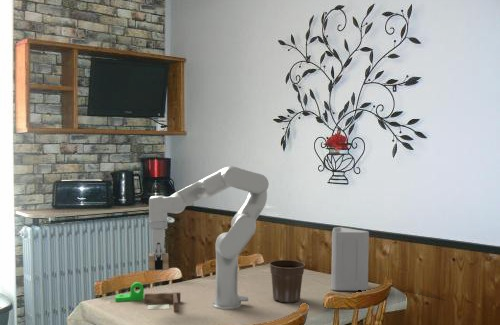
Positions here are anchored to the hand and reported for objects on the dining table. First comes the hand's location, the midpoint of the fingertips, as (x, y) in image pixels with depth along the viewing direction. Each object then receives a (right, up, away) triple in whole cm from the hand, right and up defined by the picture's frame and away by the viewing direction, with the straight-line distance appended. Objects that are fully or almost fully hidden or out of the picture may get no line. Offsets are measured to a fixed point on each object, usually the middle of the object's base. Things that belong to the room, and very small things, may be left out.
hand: (158, 267), depth 230 cm
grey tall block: (+84, -17, +37) cm, 94 cm away
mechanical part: (-15, -17, +12) cm, 26 cm away
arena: (+2, -17, +1) cm, 17 cm away
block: (0, -1, 0) cm, 1 cm away
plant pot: (+55, -17, +15) cm, 60 cm away
